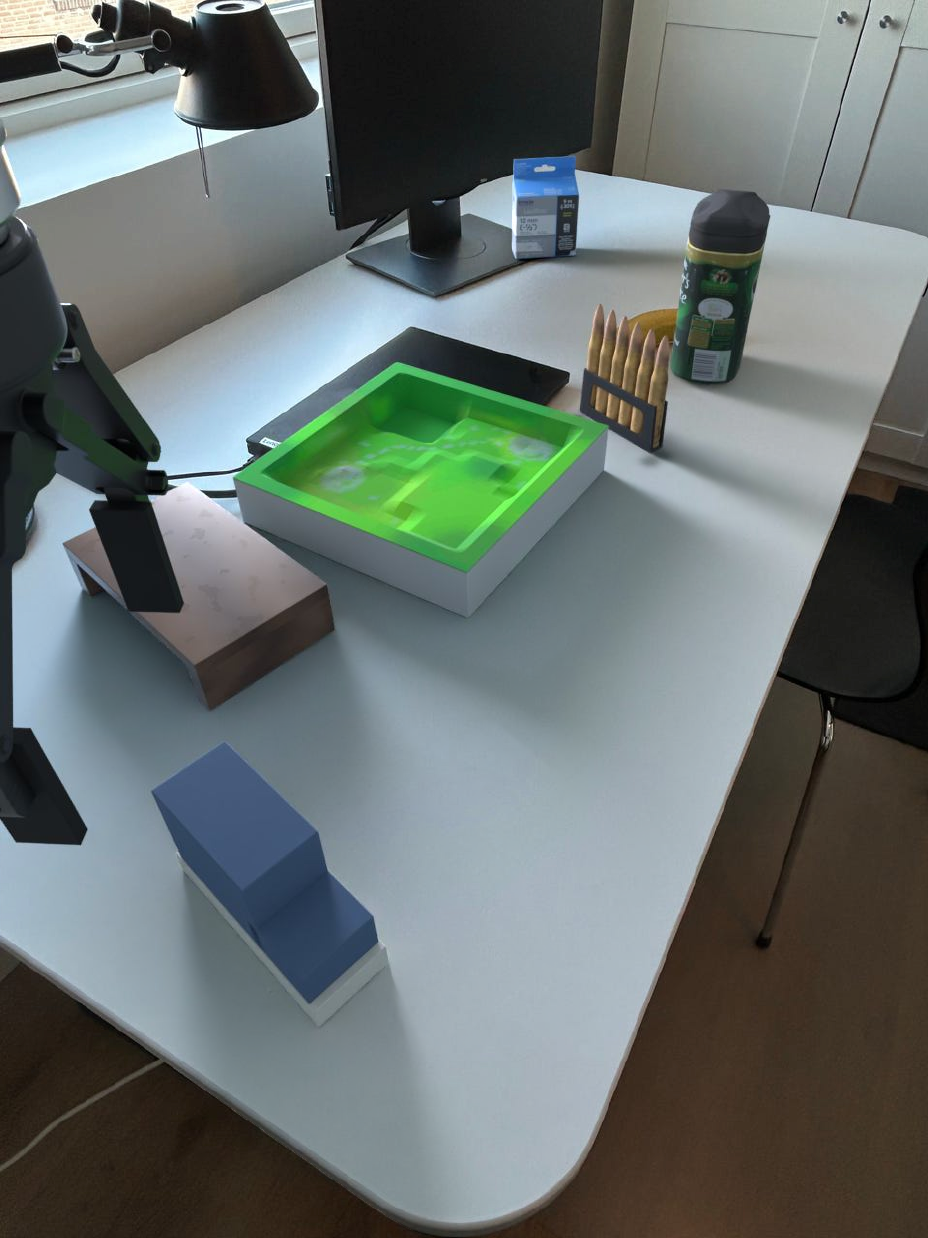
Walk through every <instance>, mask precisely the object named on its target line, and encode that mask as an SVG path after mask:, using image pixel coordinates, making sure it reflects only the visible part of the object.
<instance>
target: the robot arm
mask: <svg viewBox="0 0 928 1238" xmlns="http://www.w3.org/2000/svg"><path fill="white" fill-rule="evenodd" d="M5 125H6V124H5V123H4V120H3V119H2V117H0V821H1V823H2V824H3V826H4V827H5V829H6V830H7V832H8V833H9V835H10V836H11V837H12V839H13V840H14V842H15V844H16V843H19V844H39V845H40V844H42V845H61V846H62V845H63V846H65V845H66V846H82V845H83V842H84V840H85V837H86V835H87V833H88V830H89V828H88V827H87V825H86V823H85V821H84V819H83V817H82V815H81V814H80V812H79V810H78V809H77V807H76V805H75V804H74V802H73V801H72V798H71V796H70V795H69V793H68V792H67V790H66V788H65V786H64V784H63V783H62V781H61V778H60V777H59V776H58V774H57V772H56V770H55V769H54V766H53V765H52V763H51V761H50V760H49V758H48V756H47V754H46V753H45V751H44V749H43V747H42V745H41V743H40V742H39V740H38V738H37V737H36V735H35V733H34V731H33V730H32V728H31V727H14V655H13V654H14V650H13V649H14V647H13V646H14V643H13V640H14V638H13V633H14V631H13V630H14V629H13V567H14V565H15V564H16V563H17V562H18V561H20V560H22V559H23V557H24V555H26V551H27V517H28V515H29V514H30V513H31V511H32V510H33V507H34V504H35V502H36V499H37V496H38V494H39V492H40V491H42V490H43V489H44V488H45V487H47V486H49V485H50V483H51V482H52V480H53V479H54V478H55V477H56V475H59V476H61V477H63V478H65V479H67V480H69V481H71V482H72V483H74V484H77V485H79V487H82V488H84V489H86V490H88V491H90V492H92V493H94V494H96V495H104V496H105V498H106V499H104V500H102V499H95V500H93V502H92V504H91V505H90V507H89V508H88V511H89V514H90V516H91V519H92V521H93V524H94V527H96V529H97V532H98V534H99V537H100V540H101V542H102V545H103V547H104V550H105V552H106V555H107V558H108V560H109V563H110V565H111V568H112V570H113V573H114V576H115V578H116V581H117V583H118V586H119V588H120V591H121V594H122V596H123V599H124V601H125V604H126V606H127V609H128V611H127V612H128V613H130V612H159V613H180V612H181V609H182V607H183V605H184V601H183V598H182V595H181V592H180V589H179V586H178V583H177V580H176V577H175V574H174V571H173V568H172V565H171V561H170V558H169V555H168V552H167V549H166V546H165V543H164V540H163V537H162V534H161V531H160V528H159V525H158V522H157V519H156V515H155V512H154V509H153V506H152V503H151V501H150V498H149V496H160V495H162V496H164V495H166V493H167V492H168V491H169V478H168V474H167V472H166V470H165V469H148V465H149V463H158V462H159V461H160V458H161V453H162V446H161V444H160V440H159V439H158V437H157V435H156V434H155V433H154V431H153V430H152V428H151V427H150V426H149V424H148V422H147V421H146V420H145V418H144V417H143V415H142V414H141V412H140V411H139V409H138V408H137V406H135V404H134V403H133V401H132V400H131V398H130V397H129V395H128V394H127V392H126V391H125V390H124V389H123V387H122V386H121V384H120V383H119V381H118V380H117V378H116V377H115V375H114V374H113V372H112V371H111V370H110V368H109V367H108V365H107V363H106V362H105V361H104V360H103V358H102V357H101V356H100V354H99V353H98V351H97V350H96V348H95V345H94V343H93V340H92V338H91V336H90V333H89V331H88V328H87V326H86V323H85V320H84V318H83V316H82V313H81V310H80V309H79V307H78V306H77V304H75V303H61V301H60V298H59V295H58V293H57V290H56V287H55V284H54V280H53V278H52V275H51V273H50V270H49V267H48V263H47V261H46V258H45V255H44V253H43V249H42V246H41V243H40V241H39V238H38V236H37V233H36V231H35V230H34V229H33V228H32V227H31V226H30V225H28V224H27V223H25V222H23V220H22V219H20V218H19V217H17V216H15V214H16V212H17V210H18V209H19V207H20V206H21V202H22V195H21V192H20V188H19V187H18V182H17V181H16V178H15V175H14V172H13V169H12V166H11V163H10V161H9V160H10V159H9V157H8V155H7V152H6V150H5V146H4V145H5V142H6V141H7V137H8V132H7V129H6V126H5Z"/></svg>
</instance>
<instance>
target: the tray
mask: <svg viewBox="0 0 928 1238" xmlns="http://www.w3.org/2000/svg"><path fill="white" fill-rule="evenodd" d="M608 437H609V426H608V425H605V424H602V423H598V422H597V421H595V420H593V419H588V418H585V417H582V416H579V415H575V414H571V413H568V412H565V411H561V410H558V409H555V408H551V407H549V406H545V405H542V404H538V403H535V402H532V401H528V400H525V399H522V398H519V397H515V396H512V395H509V394H505V393H502V392H499V391H495V390H492V389H488V388H485V387H482V386H480V385H475V384H471V383H468V382H466V381H462V380H459V379H456V378H452V377H449V376H446V375H443V374H439V373H436V372H433V371H429V370H426V369H422V368H419V367H415V366H411V365H408V364H406V363H403V362H398V361H396V362H394V363H393V364H391V365H390V366H389V367H387V368H385V369H384V370H383V371H381V372H380V373H378V374H377V375H376V376H374V377H373V378H371V379H370V380H368V381H367V382H366V383H364V384H363V385H361V386H360V387H359V388H357V389H355V390H353V392H352V393H350V394H348V395H347V396H346V397H345V398H343V399H341V400H340V401H339V402H337V403H336V404H334V405H333V406H332V407H330V408H329V409H327V410H325V411H324V412H323V413H321V414H320V415H318V416H317V417H316V418H315V419H313V420H311V421H310V422H308V424H306V425H305V426H303V427H302V428H300V429H299V430H297V431H296V432H295V433H293V434H292V435H290V436H288V437H287V438H286V439H285V440H282V442H281V443H279V444H277V445H276V446H275V447H273V448H272V449H270V450H269V451H267V452H265V454H263V455H262V456H261V457H259V458H257V459H256V460H255V461H253V462H252V463H251V464H249V465H247V466H246V467H245V468H244V469H242V470H240V471H239V472H238V473H236V474H235V475H234V476H232V481H233V485H234V489H235V493H236V498H237V501H238V505H239V509H240V513H241V517H242V522H243V523H244V524H246V525H249V526H252V527H253V528H254V527H255V528H257V529H259V530H262V531H264V532H266V533H268V534H270V535H273V536H275V537H277V538H280V539H282V540H285V541H288V542H289V543H292V544H294V545H297V546H299V547H301V548H303V549H306V550H307V551H311V552H312V553H315V554H318V555H320V556H322V557H325V558H327V559H329V560H331V561H334V562H336V563H338V564H341V565H343V566H345V567H347V568H350V569H352V570H355V571H357V572H359V573H362V574H364V575H366V576H368V577H371V578H373V579H376V580H377V581H380V582H382V583H385V584H387V585H390V586H391V587H394V588H396V589H398V590H400V591H404V592H406V593H408V594H410V595H413V596H414V597H418V598H420V599H422V600H424V601H427V602H429V603H431V604H434V605H436V606H438V607H441V608H443V609H445V610H448V611H450V612H453V613H454V614H457V615H460V616H462V617H464V618H466V619H469V618H470V617H471V616H472V615H473V614H474V612H476V610H477V609H478V608H479V607H480V606H481V605H482V604H483V603H484V601H485V600H486V599H487V598H488V597H489V596H490V595H491V594H492V593H493V592H494V590H496V589H497V587H498V586H499V585H500V584H501V583H503V581H504V580H505V578H507V576H509V575H510V573H511V572H512V571H513V570H514V569H515V568H516V566H518V564H519V563H520V562H521V561H522V560H523V559H524V558H525V557H526V556H527V555H528V554H529V553H530V551H532V549H533V548H534V547H535V546H536V545H537V543H539V541H540V540H541V539H542V538H543V537H544V536H545V535H546V534H547V533H548V532H549V530H550V529H552V527H553V526H554V525H556V523H557V522H558V521H559V520H560V519H561V518H562V516H563V515H564V514H565V513H566V512H567V511H568V510H569V508H571V506H573V504H574V503H576V501H577V500H578V499H579V498H580V497H581V496H582V494H584V492H585V491H586V490H587V489H588V488H589V487H590V486H591V485H592V484H593V483H594V482H595V481H596V479H598V477H599V476H600V475H601V474H602V473H603V472H604V470H605V464H606V456H607V446H608Z"/></svg>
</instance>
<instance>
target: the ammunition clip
mask: <svg viewBox="0 0 928 1238" xmlns="http://www.w3.org/2000/svg"><path fill="white" fill-rule="evenodd" d="M605 322H606V323H605ZM617 325H618V323H617V315H616V312H615V310H614V309H611V310H610V312H609V314H608V316H607V319H606V321H605V313H604V306H603V304H602V303H599V304H598V306H597V307H596V310H595V312H594V317H593V320H592V326H591V327H592V328H591V333H590V340H589V342H588V348H587V359H586V360H587V361H586V367H585V368H583V374H582V384H581V393H580V401H579V412H580V413H581V414H583V415H585V416H586V417H588V418H590V419H591V420H592V421H595V422H598V423H602V424H605V425H608V426H609V428H608V430H610V431H612V432H613V433H615V434H617V435H618V436H620V437H622V438H624V439H626V440H627V441H628V442H631V443H632V444H634V445H635V446H637V447H638V448H640V449H642V450H643V451H646V452H647V453H648V454H651V453H653V452H656V451H657V450H658V449H661V448H663V447H664V438H665V431H666V430H665V429H666V421H667V414H668V405H669V402H668V401H667V400H666V398H667V393H668V392H667V391H668V384H669V363H670V341H669V338H668V335H664V336H663V337H662V339H661V341H660V344H659V346H658V349H656V348H657V346H656V344H657V343H656V335H655V333H656V332H655V330H654V329H653V328H651V329H650V330H649V331H648V333H647V335H646V337H645V340H644V343H643V332H642V331H643V330H642V325H641V323H640V322H639V321H637V322H636V323H635V325H634V327H633V329H632V332H631V335H630V323H629V319H628V317H627V315H624V316H623V318H622V319H621V321H620V324H619V327H618V326H617ZM642 346H643V348H642ZM656 350H657V353H656Z"/></svg>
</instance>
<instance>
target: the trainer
mask: <svg viewBox="0 0 928 1238" xmlns="http://www.w3.org/2000/svg"><path fill="white" fill-rule="evenodd" d="M150 793H151V796H152V797H153V800H154V801H155V803H156V806H157V808H158V810H159V812H160V814H161V817H162V819H163V821H164V823H165V825H166V827H167V830H168V832H169V834H170V836H171V839H172V841H173V843H174V845H175V847H176V850H177V851H176V852H175V856H176V858H177V860H178V863H179V865H180V867H181V869H182V870H183V872H184V874H186V875H187V876H188V878H189V879H190V880H191V881H192V882H193V883H194V885H195V886H196V887H197V888H198V889H199V891H200V892H201V893H202V894H203V895H204V897H206V898H207V900H208V901H209V903H211V904H212V905H213V906H214V908H215V909H216V910H217V911H218V913H219V914H220V915H221V916H222V917H223V918H224V919H225V921H226V922H227V923H228V924H229V925H230V927H232V928H233V930H234V931H235V932H236V933H237V935H239V937H240V938H241V939H242V940H243V942H244V943H245V944H246V945H247V946H248V947H249V948H250V950H252V952H253V953H254V954H255V956H257V958H258V959H259V960H260V961H261V962H262V964H263V965H264V966H265V967H266V968H267V970H269V972H270V973H271V974H272V975H273V976H274V977H275V978H276V980H277V981H278V982H279V984H280V985H281V986H282V987H283V988H284V989H285V990H286V991H287V992H288V994H289V995H290V996H291V997H292V998H293V999H294V1001H295V1002H296V1003H297V1004H298V1005H299V1006H300V1007H301V1009H302V1010H303V1011H304V1012H305V1014H307V1016H308V1017H309V1018H310V1019H311V1020H312V1022H313V1023H314V1024H315V1025H316V1026H317V1027H318V1028H320V1027H321V1026H322V1025H324V1023H326V1021H328V1019H330V1018H331V1017H332V1016H333V1015H334V1014H335V1013H336V1012H338V1010H339V1009H340V1008H342V1006H344V1005H345V1004H346V1003H347V1002H348V1001H349V1000H351V999H352V997H353V996H355V994H357V993H358V992H359V991H360V990H361V989H362V988H363V987H364V986H366V984H367V983H369V981H371V980H372V979H373V978H374V977H375V976H376V975H377V974H378V973H379V972H381V970H383V969H384V968H385V967H386V966H387V965H388V964H389V962H390V961H389V956H388V951H387V946H386V945H385V944H384V943H383V942H382V941H381V940H380V939H379V937H378V931H377V927H376V921H375V917H374V915H373V914H372V913H371V912H370V910H368V909H367V908H366V907H365V906H364V905H363V904H362V902H360V901H359V900H358V899H357V898H356V896H354V895H353V894H352V893H351V892H350V891H349V890H348V889H347V888H346V887H345V886H344V885H343V883H341V882H340V881H339V880H338V879H337V878H336V877H335V876H334V875H333V873H331V872H330V870H329V869H328V866H327V861H326V858H325V853H324V849H323V845H322V841H321V837H320V833H319V831H318V830H317V829H316V828H315V827H314V826H313V825H312V824H311V823H310V822H309V821H308V820H307V819H306V818H305V817H304V816H303V815H302V814H301V813H300V812H299V811H298V810H297V809H296V808H295V807H294V806H292V805H291V804H290V803H289V802H288V801H287V800H286V799H285V798H284V797H283V796H282V795H281V794H280V792H278V791H277V790H276V789H275V788H274V787H273V786H272V785H271V784H270V783H269V782H268V781H267V780H266V779H265V778H264V777H263V776H262V775H261V774H259V772H257V770H255V768H254V767H252V765H250V764H249V762H247V760H246V759H244V758H243V757H242V756H241V755H240V754H239V753H238V752H237V751H236V750H235V749H234V748H233V747H232V746H231V745H230V744H229V743H228V742H227V741H225V740H224V741H222V742H220V743H219V744H218V745H216V746H215V747H213V748H212V749H210V750H208V751H207V752H205V753H204V754H203V755H201V756H200V757H198V758H197V759H195V760H194V761H192V762H191V763H190V764H188V765H187V766H185V767H184V768H182V769H181V770H179V771H178V772H176V773H175V774H173V775H172V776H171V777H169V778H167V779H165V780H164V781H163V782H161V783H160V784H159V785H157V786H156V787H154V788H153V789H151V791H150Z"/></svg>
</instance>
